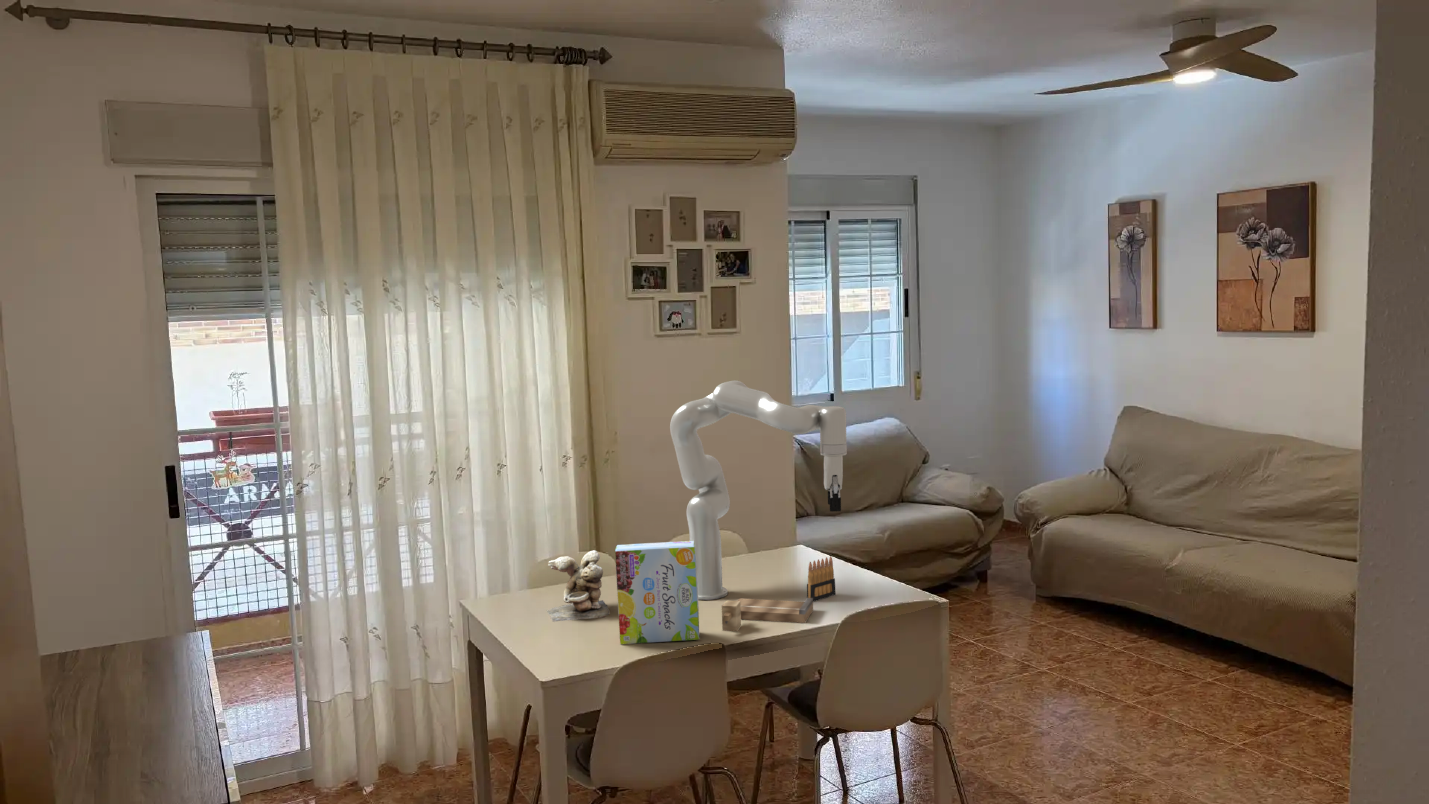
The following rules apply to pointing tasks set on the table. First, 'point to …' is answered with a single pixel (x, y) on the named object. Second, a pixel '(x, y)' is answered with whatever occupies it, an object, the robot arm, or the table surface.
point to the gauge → (731, 616)
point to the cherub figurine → (580, 589)
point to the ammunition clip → (821, 580)
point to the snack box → (657, 592)
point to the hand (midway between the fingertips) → (834, 507)
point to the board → (776, 610)
